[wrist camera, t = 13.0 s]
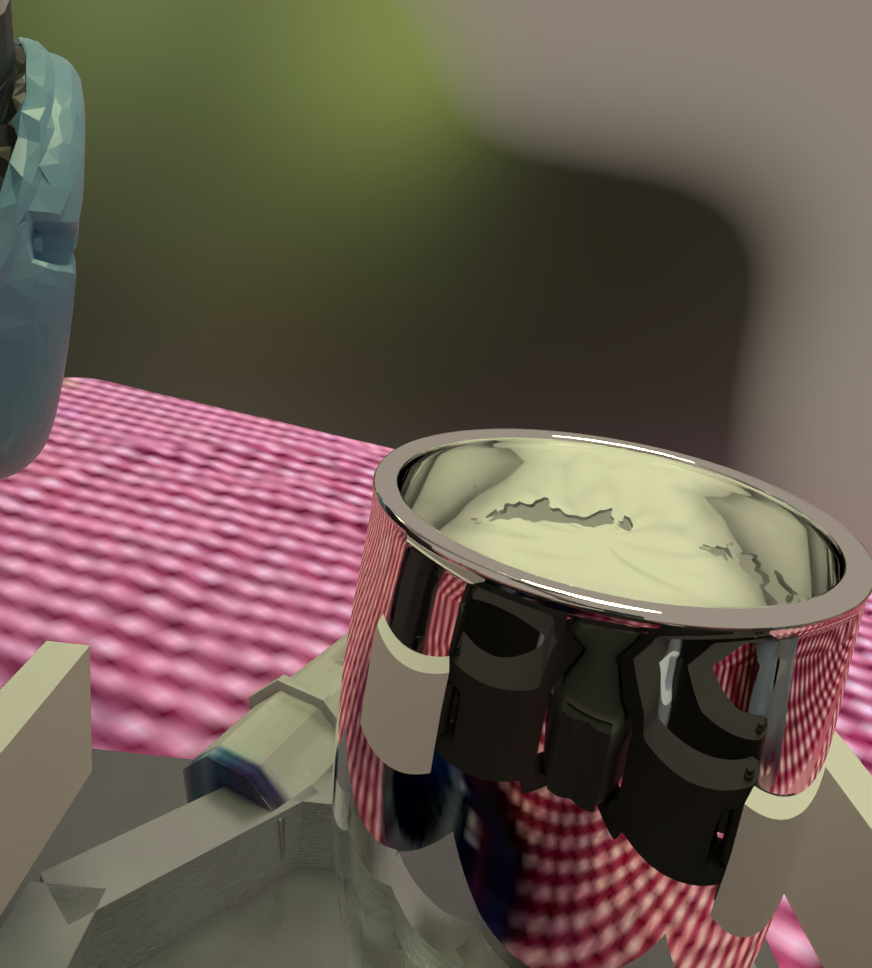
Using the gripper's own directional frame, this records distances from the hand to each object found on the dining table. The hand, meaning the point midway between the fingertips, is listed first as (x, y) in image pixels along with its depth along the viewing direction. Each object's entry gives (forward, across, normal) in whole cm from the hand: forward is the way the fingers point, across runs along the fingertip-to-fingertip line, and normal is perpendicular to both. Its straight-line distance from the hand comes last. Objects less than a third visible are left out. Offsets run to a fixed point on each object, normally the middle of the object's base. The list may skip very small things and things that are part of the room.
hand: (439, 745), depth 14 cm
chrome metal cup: (-2, +2, -9) cm, 10 cm away
